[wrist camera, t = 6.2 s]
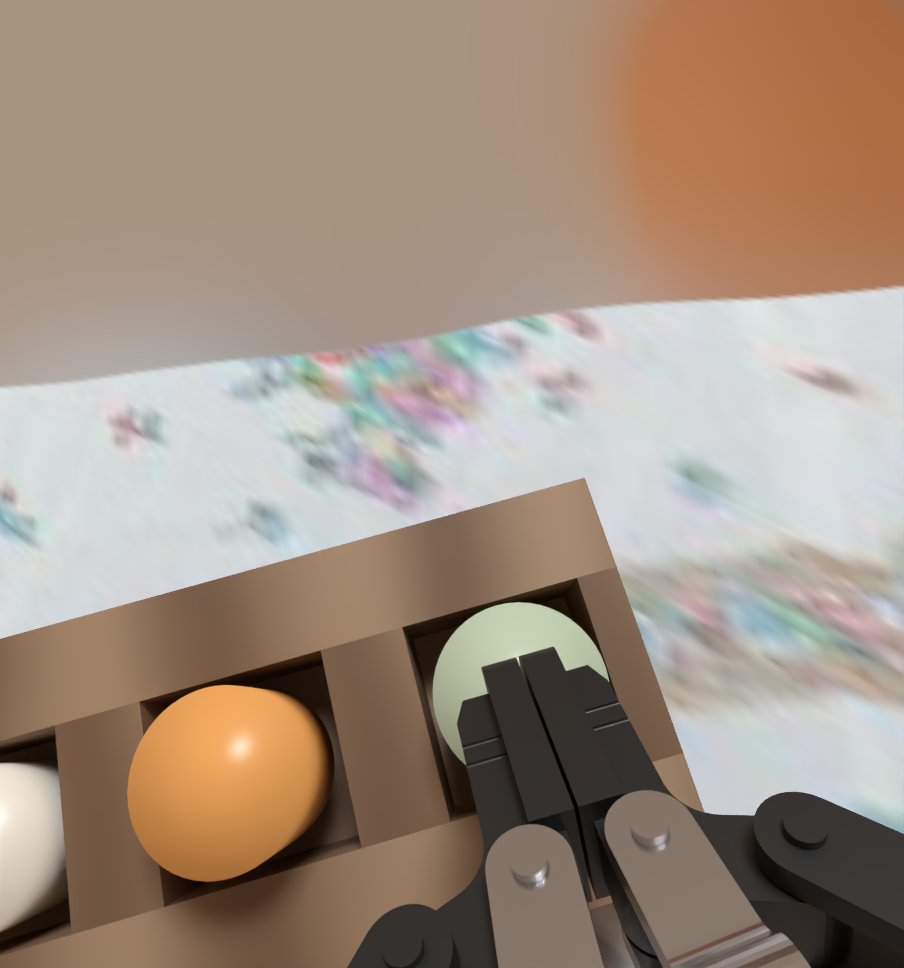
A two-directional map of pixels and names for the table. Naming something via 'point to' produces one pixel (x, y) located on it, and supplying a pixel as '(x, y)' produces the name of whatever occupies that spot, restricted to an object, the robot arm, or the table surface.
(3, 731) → the wooden egg holder
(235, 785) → the orange egg
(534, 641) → the sage egg
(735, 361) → the table surface
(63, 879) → the cream egg
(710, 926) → the robot arm
